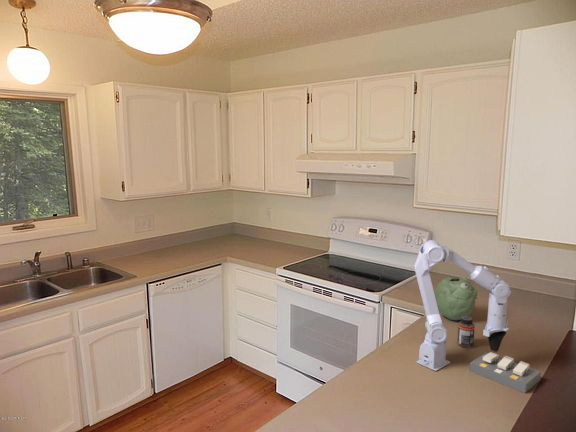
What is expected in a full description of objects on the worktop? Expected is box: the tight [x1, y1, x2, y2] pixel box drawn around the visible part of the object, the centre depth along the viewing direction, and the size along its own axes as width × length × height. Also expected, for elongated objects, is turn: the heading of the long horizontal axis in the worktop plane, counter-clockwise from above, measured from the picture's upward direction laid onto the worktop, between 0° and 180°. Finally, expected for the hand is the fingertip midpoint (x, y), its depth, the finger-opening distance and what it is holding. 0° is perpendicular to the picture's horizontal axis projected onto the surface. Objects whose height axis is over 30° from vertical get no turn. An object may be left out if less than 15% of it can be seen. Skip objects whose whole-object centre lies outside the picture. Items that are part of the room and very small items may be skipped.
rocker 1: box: [483, 351, 500, 363], centre depth 145 cm, size 6×3×1 cm, turn 129°
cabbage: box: [434, 276, 478, 321], centre depth 189 cm, size 16×19×20 cm
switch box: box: [469, 351, 542, 394], centre depth 141 cm, size 12×18×5 cm, turn 39°
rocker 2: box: [497, 355, 515, 370], centre depth 141 cm, size 6×3×1 cm, turn 129°
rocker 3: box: [513, 360, 530, 376], centre depth 137 cm, size 6×3×1 cm, turn 129°
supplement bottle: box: [457, 315, 476, 349], centre depth 163 cm, size 6×6×11 cm
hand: (494, 350), depth 146 cm, fingers closed
